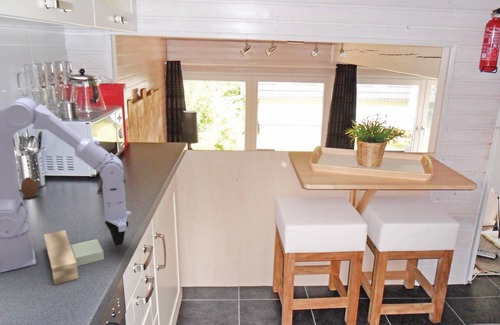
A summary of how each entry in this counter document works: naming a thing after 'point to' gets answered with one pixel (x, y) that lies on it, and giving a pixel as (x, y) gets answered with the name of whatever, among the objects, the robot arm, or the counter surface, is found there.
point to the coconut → (29, 187)
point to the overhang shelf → (61, 257)
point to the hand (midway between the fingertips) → (118, 244)
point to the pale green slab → (87, 252)
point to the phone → (102, 188)
